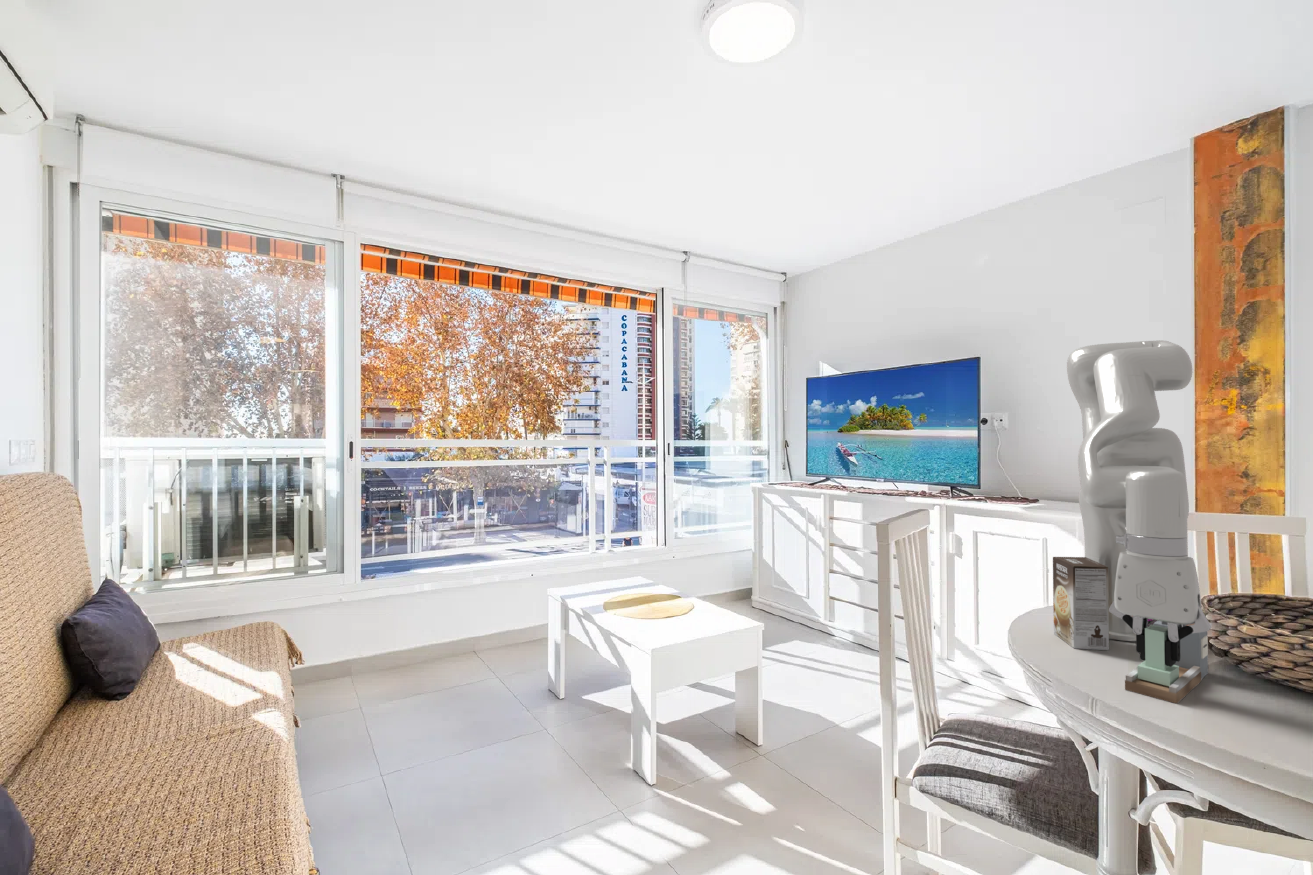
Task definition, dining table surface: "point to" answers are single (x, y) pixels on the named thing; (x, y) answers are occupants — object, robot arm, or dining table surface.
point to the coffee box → (1081, 602)
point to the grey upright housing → (1192, 650)
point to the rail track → (1163, 692)
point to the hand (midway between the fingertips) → (1158, 660)
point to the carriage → (1156, 658)
